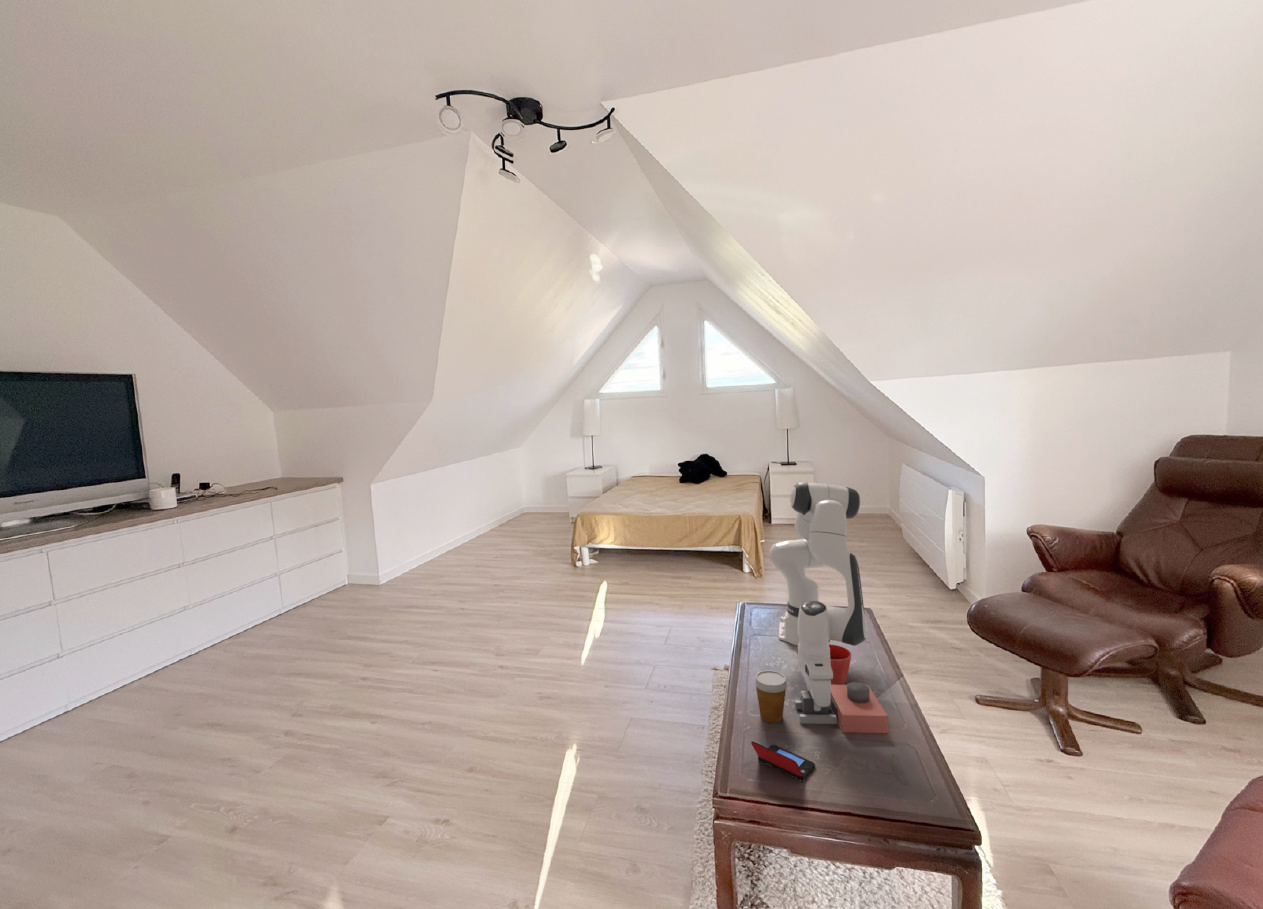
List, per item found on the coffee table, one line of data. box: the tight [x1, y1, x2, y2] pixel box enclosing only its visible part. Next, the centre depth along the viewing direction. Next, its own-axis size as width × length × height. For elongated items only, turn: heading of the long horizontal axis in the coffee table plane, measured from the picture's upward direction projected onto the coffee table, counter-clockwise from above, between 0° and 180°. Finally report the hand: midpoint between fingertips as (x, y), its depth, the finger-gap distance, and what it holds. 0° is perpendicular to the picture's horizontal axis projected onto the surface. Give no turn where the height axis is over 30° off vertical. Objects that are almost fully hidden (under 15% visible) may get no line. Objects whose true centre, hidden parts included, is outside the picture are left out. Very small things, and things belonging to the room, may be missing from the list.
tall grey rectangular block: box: [800, 690, 830, 715], centre depth 156 cm, size 4×7×5 cm, turn 84°
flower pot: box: [829, 643, 852, 685], centre depth 174 cm, size 11×11×10 cm
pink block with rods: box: [794, 681, 889, 734], centre depth 155 cm, size 16×22×8 cm
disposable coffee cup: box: [753, 669, 789, 724], centre depth 156 cm, size 10×10×12 cm
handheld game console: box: [750, 741, 816, 782], centre depth 135 cm, size 12×11×7 cm
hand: (814, 704), depth 156 cm, fingers closed on tall grey rectangular block, 4 cm apart
